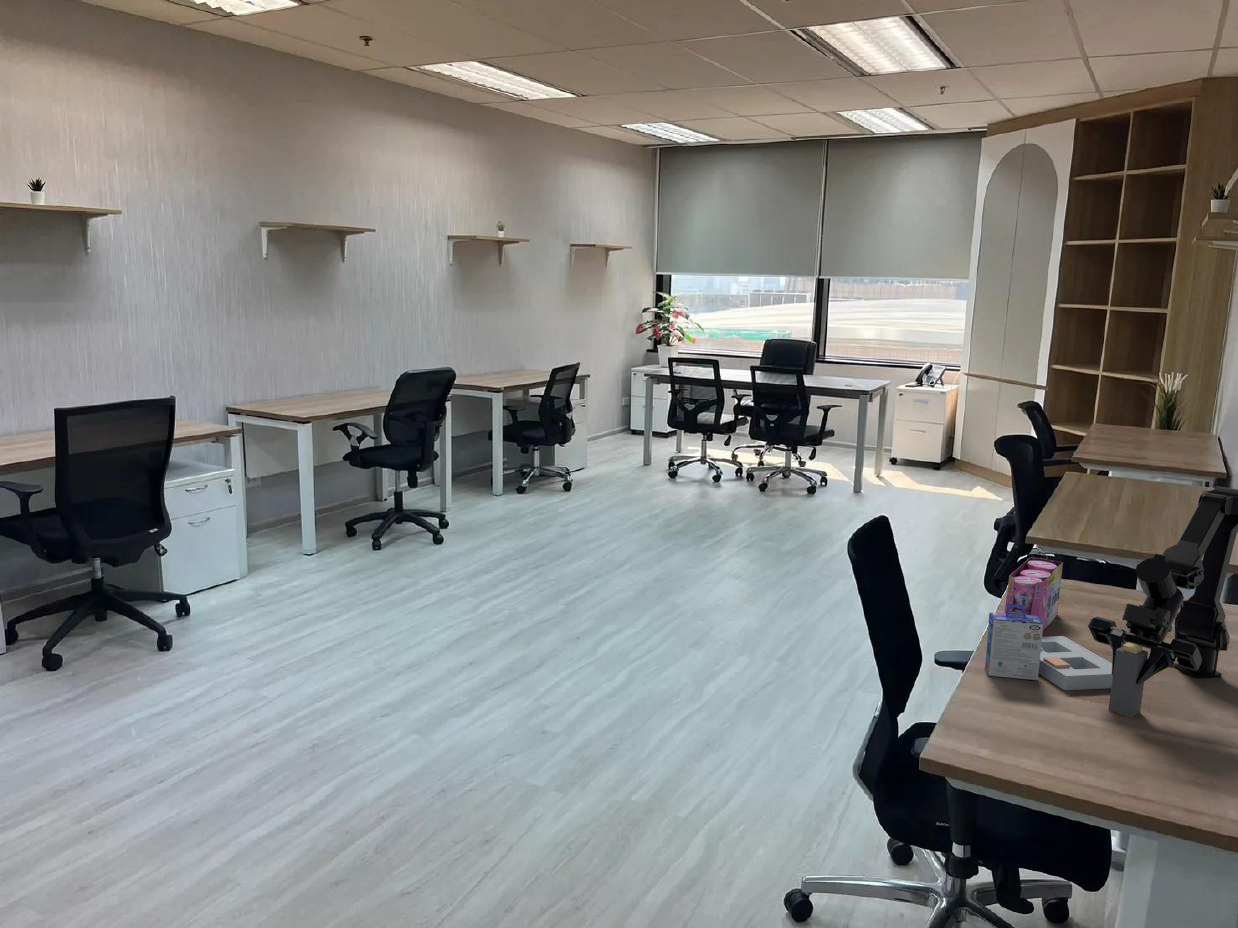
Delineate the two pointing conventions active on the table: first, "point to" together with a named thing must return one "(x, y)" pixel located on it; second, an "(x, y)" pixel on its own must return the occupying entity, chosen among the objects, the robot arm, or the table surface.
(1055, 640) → the socket panel
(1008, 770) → the table surface
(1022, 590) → the gum box
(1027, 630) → the ink cartridge box
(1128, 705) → the plug
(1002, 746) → the table surface
